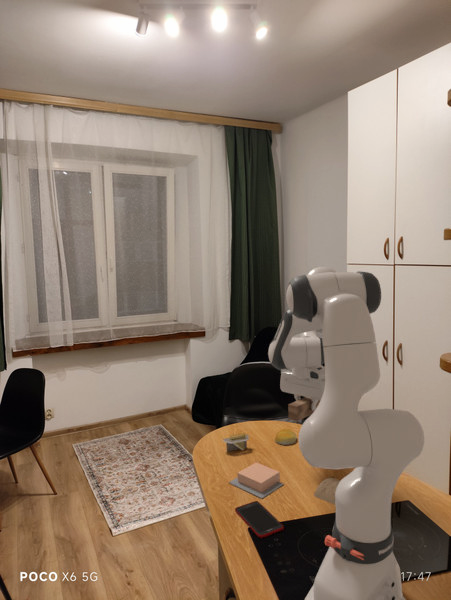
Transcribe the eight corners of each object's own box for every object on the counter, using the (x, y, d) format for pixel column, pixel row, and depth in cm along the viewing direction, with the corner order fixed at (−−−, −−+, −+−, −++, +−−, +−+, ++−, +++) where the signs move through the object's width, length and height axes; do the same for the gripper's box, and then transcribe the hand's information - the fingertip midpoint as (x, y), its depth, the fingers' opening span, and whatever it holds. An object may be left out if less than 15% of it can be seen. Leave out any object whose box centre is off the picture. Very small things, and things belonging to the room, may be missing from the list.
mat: (261, 498, 128) (261, 497, 128) (229, 483, 138) (229, 482, 138) (283, 484, 135) (283, 483, 135) (250, 470, 145) (250, 469, 145)
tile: (279, 480, 137) (261, 492, 130) (256, 470, 144) (238, 481, 138) (279, 471, 136) (261, 483, 130) (256, 462, 144) (237, 472, 137)
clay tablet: (341, 511, 120) (341, 502, 120) (310, 498, 127) (310, 490, 127) (363, 489, 131) (363, 480, 131) (334, 479, 138) (333, 471, 138)
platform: (265, 454, 157) (264, 436, 157) (218, 463, 152) (217, 445, 152) (254, 441, 169) (253, 425, 168) (210, 449, 164) (209, 432, 163)
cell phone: (257, 503, 126) (257, 500, 126) (285, 530, 113) (285, 526, 113) (234, 511, 123) (233, 508, 123) (260, 540, 110) (259, 536, 110)
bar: (297, 421, 141) (296, 406, 141) (288, 419, 144) (288, 404, 143) (324, 408, 152) (323, 394, 152) (315, 406, 155) (315, 392, 154)
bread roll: (274, 445, 164) (273, 435, 163) (276, 435, 172) (276, 426, 172) (295, 446, 162) (295, 436, 161) (297, 436, 170) (297, 426, 170)
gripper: (275, 367, 151) (277, 404, 153) (325, 376, 137) (326, 417, 138) (286, 363, 156) (288, 399, 157) (335, 371, 141) (337, 412, 143)
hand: (306, 408), depth 148 cm, fingers closed on bar, 3 cm apart
